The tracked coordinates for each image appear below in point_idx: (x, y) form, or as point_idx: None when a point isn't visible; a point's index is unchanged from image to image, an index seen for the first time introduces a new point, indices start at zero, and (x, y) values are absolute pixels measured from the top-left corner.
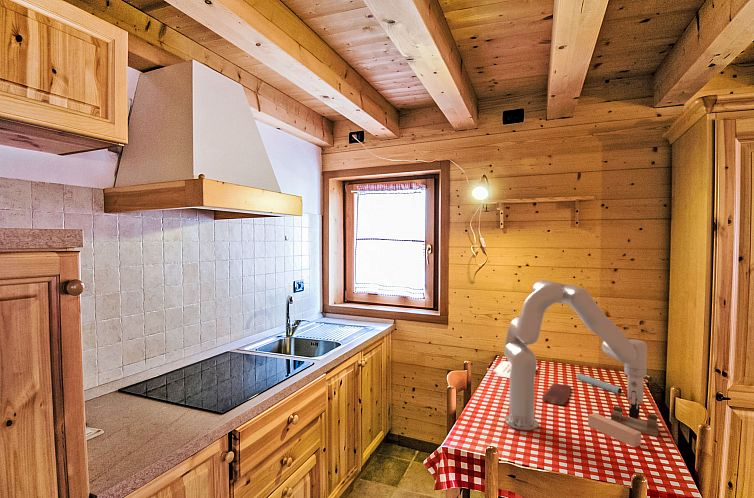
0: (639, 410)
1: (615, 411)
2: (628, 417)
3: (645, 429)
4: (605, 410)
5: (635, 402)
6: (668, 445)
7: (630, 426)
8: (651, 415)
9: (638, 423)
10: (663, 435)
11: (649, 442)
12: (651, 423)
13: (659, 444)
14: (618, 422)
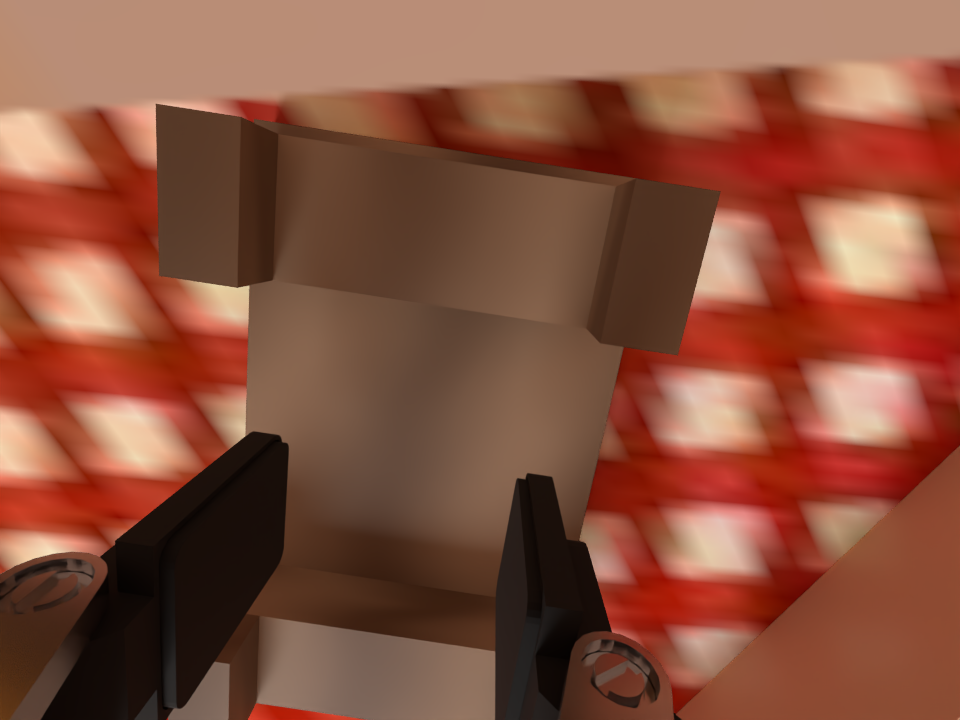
0: (227, 453)
1: (283, 686)
2: None
3: (570, 333)
4: None
5: (129, 659)
6: (897, 82)
7: (560, 502)
8: (238, 226)
9: (397, 398)
10: (569, 102)
11: (880, 317)
12: (695, 282)
13: (902, 201)
14: None
